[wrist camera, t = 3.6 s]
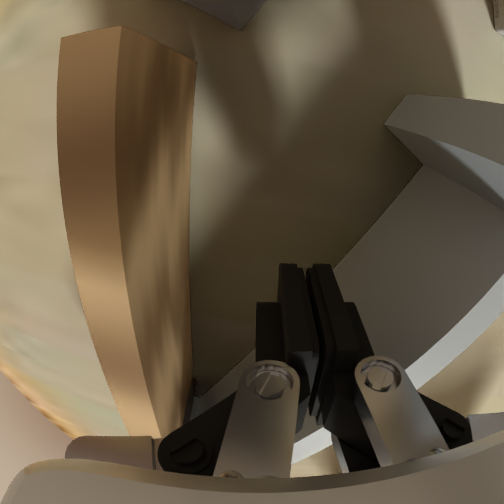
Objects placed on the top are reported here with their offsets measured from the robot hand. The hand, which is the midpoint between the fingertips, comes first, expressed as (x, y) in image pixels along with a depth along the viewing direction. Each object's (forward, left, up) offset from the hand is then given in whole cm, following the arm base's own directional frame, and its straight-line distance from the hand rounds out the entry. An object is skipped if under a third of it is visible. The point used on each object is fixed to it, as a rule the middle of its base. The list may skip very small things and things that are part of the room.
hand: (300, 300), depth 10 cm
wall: (+4, +2, -5) cm, 7 cm away
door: (+5, -4, -5) cm, 8 cm away
